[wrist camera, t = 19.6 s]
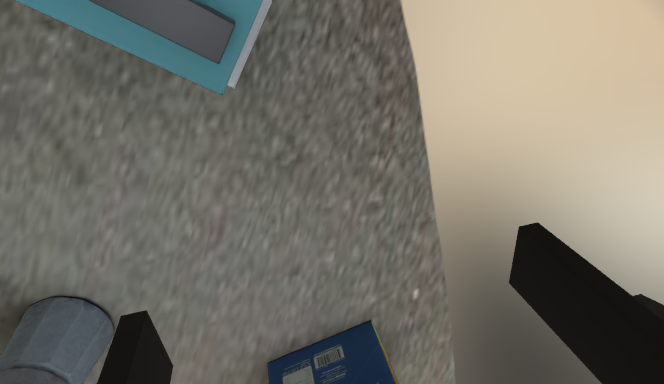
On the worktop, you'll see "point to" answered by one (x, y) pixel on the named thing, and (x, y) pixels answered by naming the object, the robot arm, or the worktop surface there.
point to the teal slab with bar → (171, 32)
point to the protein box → (337, 361)
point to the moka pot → (56, 343)
